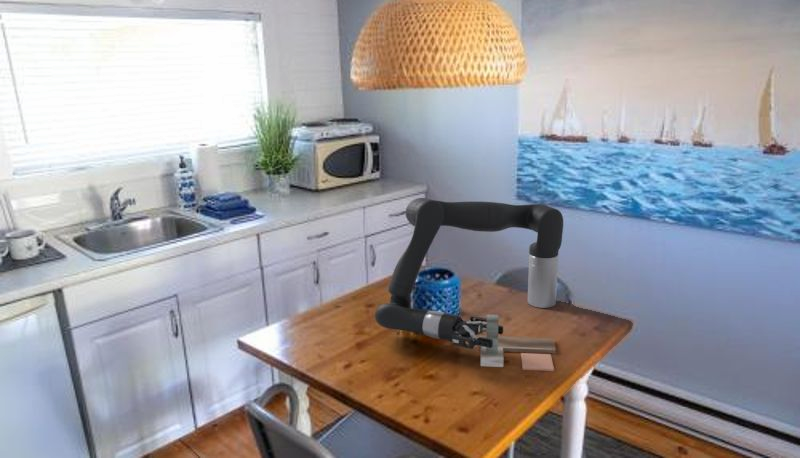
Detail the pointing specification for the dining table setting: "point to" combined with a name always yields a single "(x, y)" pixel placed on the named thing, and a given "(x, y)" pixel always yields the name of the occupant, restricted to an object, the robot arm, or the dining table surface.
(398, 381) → the dining table surface
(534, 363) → the end pad
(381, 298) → the dining table surface
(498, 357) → the tall grey square pillar
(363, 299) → the dining table surface
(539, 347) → the grey-brown board
